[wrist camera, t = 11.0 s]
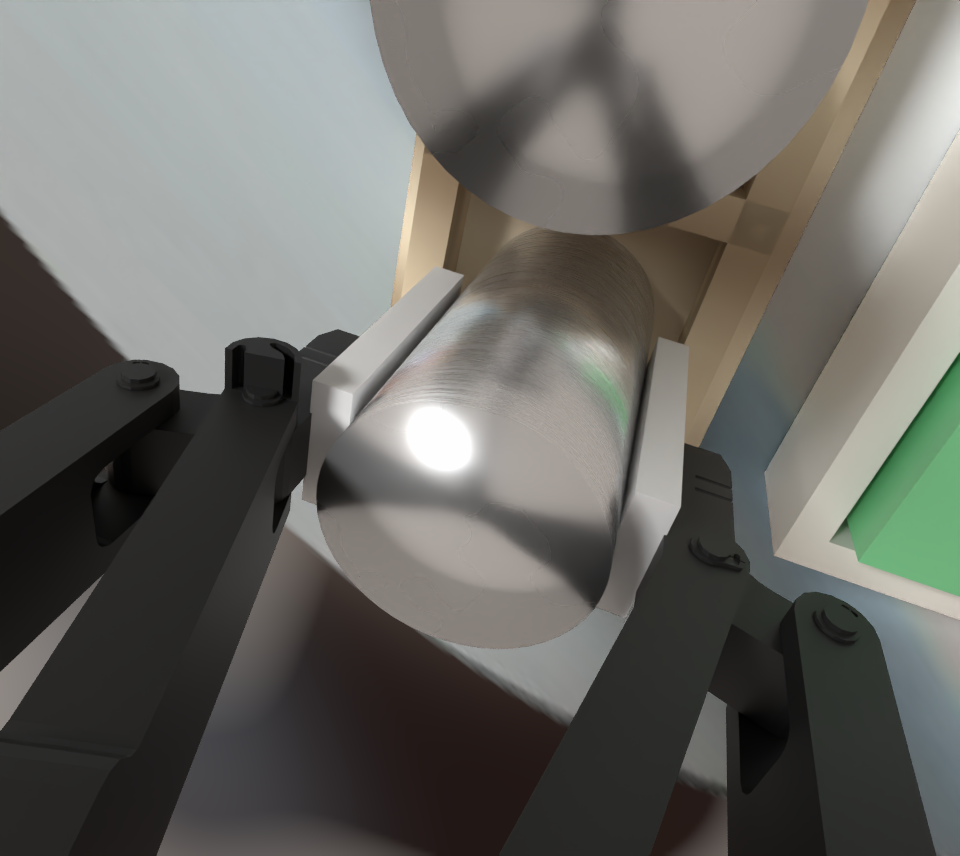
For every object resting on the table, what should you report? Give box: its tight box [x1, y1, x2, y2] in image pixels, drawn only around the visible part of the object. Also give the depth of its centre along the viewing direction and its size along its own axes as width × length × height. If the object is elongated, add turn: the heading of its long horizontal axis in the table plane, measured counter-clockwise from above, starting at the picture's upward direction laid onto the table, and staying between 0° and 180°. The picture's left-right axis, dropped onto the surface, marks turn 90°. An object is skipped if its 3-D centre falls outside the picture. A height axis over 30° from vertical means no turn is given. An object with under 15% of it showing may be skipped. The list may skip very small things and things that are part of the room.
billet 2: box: [316, 227, 655, 649], centre depth 15 cm, size 5×5×10 cm
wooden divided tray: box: [391, 0, 916, 448], centre depth 17 cm, size 16×10×3 cm, turn 168°
